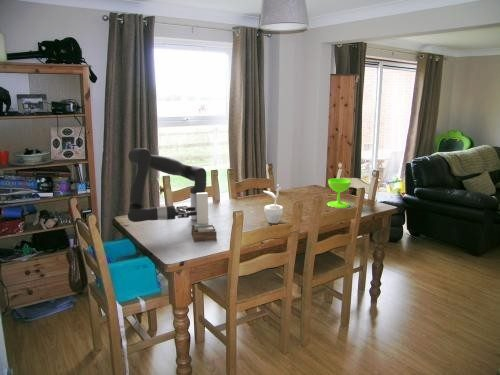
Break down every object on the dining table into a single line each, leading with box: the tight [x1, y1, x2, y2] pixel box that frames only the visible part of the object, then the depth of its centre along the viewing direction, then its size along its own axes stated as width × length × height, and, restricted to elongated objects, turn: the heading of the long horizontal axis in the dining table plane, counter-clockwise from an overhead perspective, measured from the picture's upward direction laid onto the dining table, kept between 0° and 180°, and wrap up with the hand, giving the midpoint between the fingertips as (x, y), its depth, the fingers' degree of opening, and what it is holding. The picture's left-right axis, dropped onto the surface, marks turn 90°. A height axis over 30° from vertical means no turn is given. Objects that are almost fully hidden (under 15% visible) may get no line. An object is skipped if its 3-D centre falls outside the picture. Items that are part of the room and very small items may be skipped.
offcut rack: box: [191, 224, 217, 243], centre depth 215 cm, size 14×12×5 cm
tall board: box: [196, 191, 209, 225], centre depth 216 cm, size 2×6×22 cm, turn 104°
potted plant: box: [263, 183, 284, 224], centre depth 238 cm, size 13×12×25 cm
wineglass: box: [326, 177, 352, 209], centre depth 276 cm, size 16×16×18 cm
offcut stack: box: [193, 223, 214, 232], centre depth 212 cm, size 7×10×5 cm, turn 104°
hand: (196, 210), depth 215 cm, fingers open, 8 cm apart
